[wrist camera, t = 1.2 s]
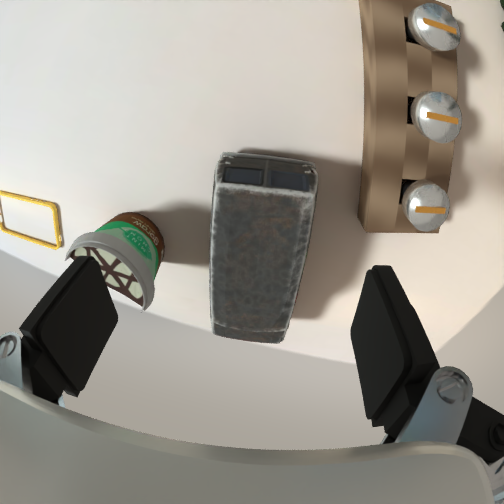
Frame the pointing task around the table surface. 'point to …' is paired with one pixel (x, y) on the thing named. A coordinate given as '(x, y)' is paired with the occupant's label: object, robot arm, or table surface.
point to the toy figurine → (503, 3)
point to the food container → (125, 255)
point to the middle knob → (436, 116)
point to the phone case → (40, 202)
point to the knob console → (398, 114)
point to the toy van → (258, 243)
